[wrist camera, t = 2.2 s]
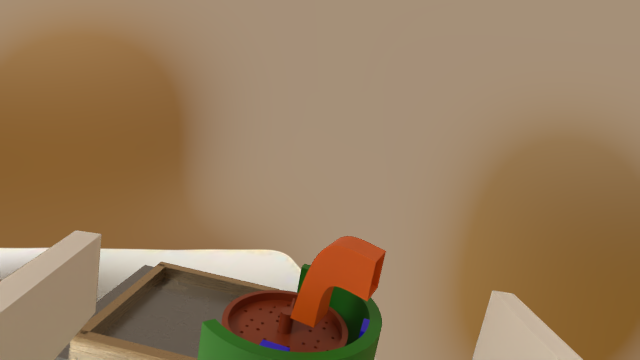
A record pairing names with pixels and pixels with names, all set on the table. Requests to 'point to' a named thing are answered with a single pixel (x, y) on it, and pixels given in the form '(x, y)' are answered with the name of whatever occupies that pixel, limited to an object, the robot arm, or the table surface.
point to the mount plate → (156, 315)
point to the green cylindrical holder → (306, 312)
